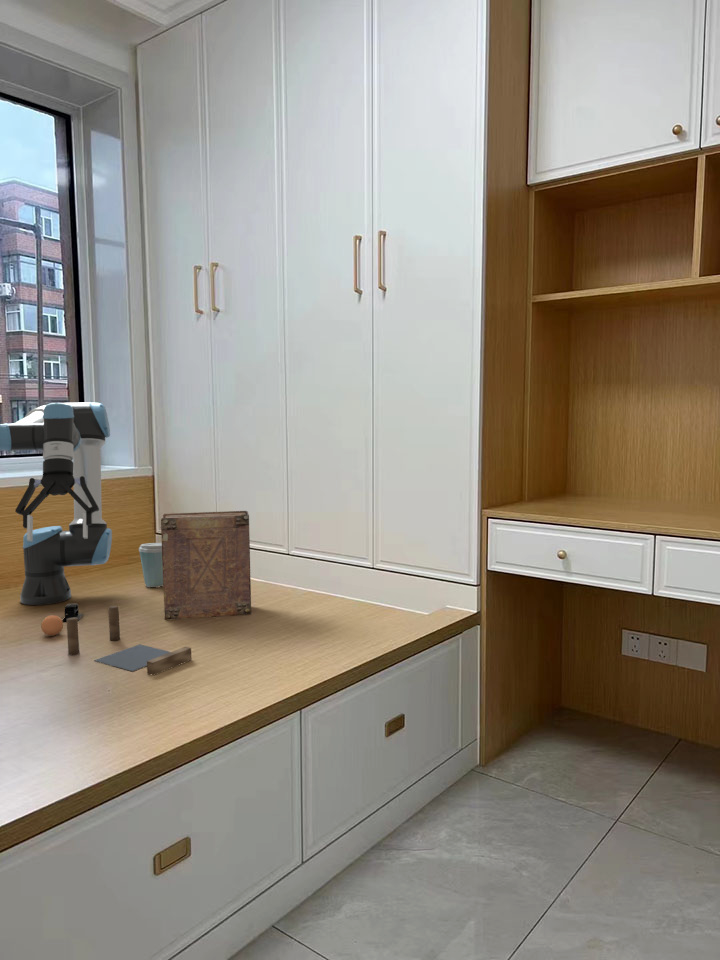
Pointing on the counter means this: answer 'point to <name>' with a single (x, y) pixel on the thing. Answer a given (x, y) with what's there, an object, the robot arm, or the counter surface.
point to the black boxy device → (71, 612)
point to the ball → (52, 625)
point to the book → (206, 564)
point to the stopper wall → (168, 660)
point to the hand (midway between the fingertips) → (57, 539)
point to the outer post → (72, 636)
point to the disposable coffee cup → (152, 564)
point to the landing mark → (132, 657)
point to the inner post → (114, 623)
